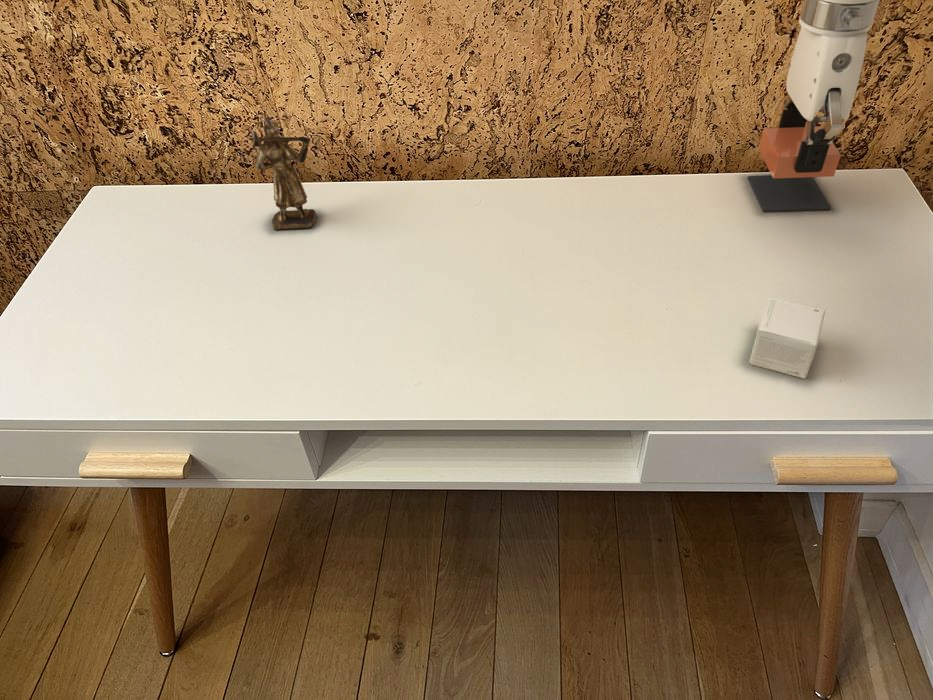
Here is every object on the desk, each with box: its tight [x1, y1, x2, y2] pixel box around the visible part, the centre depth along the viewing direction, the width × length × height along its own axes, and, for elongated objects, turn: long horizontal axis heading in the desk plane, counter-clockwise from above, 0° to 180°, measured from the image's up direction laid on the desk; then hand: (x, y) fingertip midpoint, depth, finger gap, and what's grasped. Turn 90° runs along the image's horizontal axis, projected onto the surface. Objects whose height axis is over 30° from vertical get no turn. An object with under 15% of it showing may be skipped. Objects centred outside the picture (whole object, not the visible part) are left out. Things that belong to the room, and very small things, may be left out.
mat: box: [747, 174, 832, 213], centre depth 97 cm, size 8×8×1 cm
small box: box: [749, 297, 826, 380], centre depth 74 cm, size 6×6×5 cm
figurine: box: [248, 116, 318, 231], centre depth 94 cm, size 7×4×15 cm, turn 89°
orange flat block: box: [758, 125, 842, 178], centre depth 93 cm, size 7×7×3 cm
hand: (797, 153), depth 93 cm, fingers closed on orange flat block, 7 cm apart
